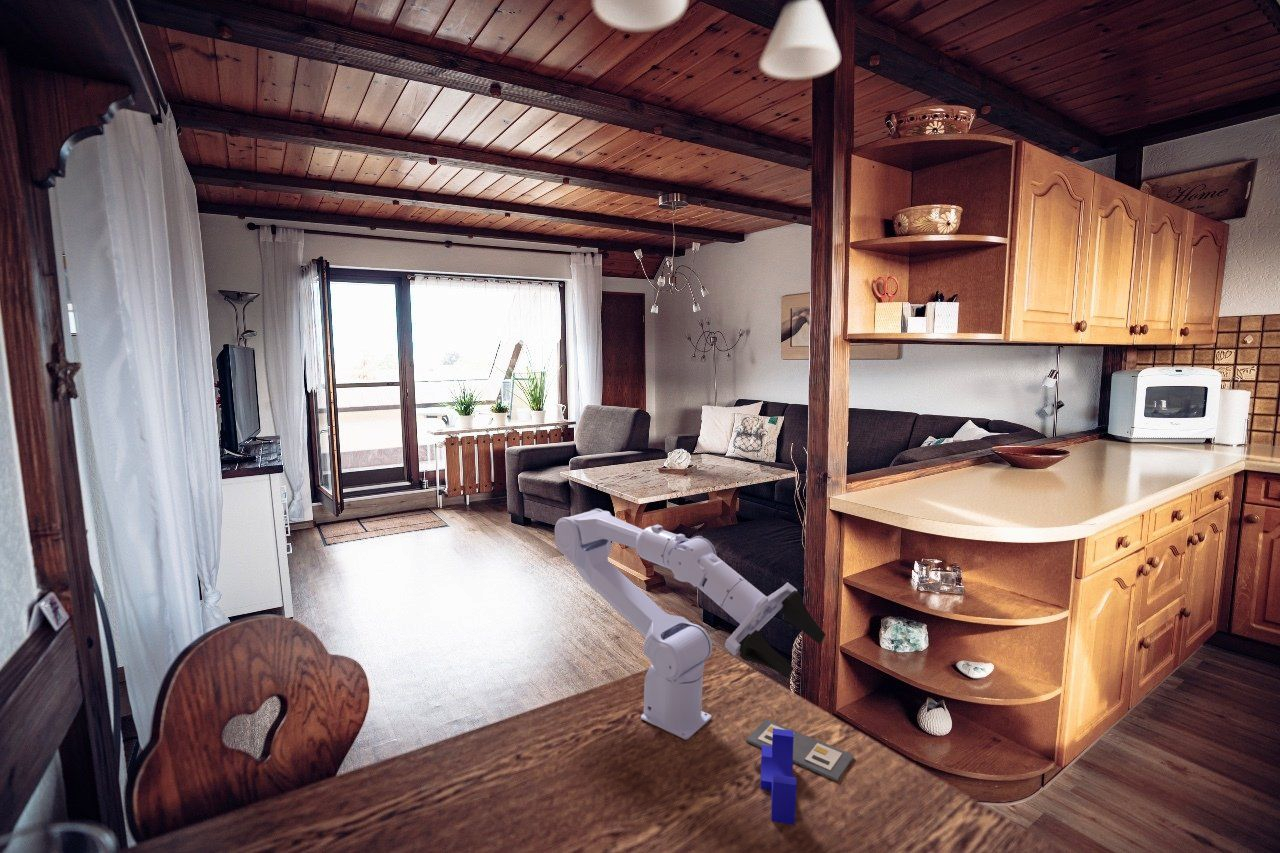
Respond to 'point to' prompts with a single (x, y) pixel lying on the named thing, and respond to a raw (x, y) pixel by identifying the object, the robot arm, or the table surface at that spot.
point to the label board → (806, 751)
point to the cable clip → (780, 776)
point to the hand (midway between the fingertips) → (807, 655)
